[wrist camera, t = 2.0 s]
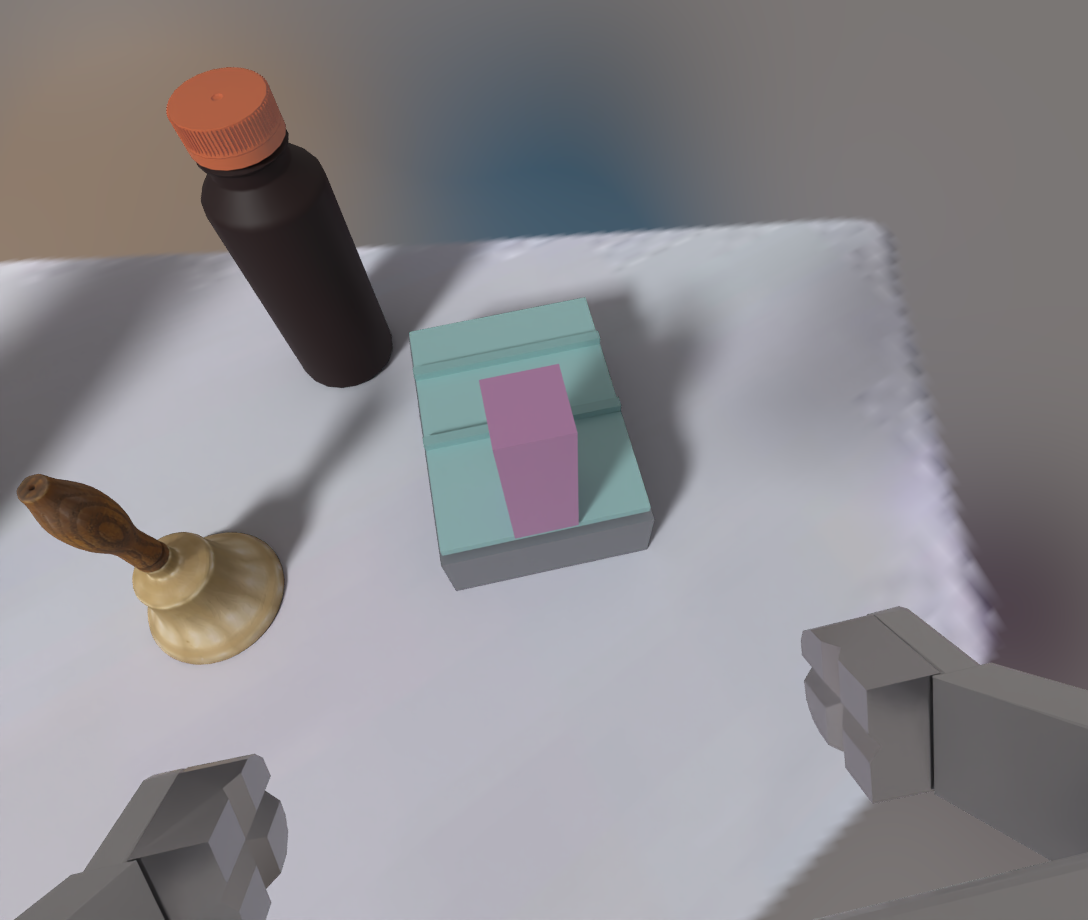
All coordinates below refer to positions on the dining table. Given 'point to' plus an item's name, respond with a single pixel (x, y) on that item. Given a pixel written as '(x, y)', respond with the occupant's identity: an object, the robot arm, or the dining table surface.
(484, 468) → the lid
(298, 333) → the bottle
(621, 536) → the tray
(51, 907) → the robot arm
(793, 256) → the dining table surface
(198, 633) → the hand bell
